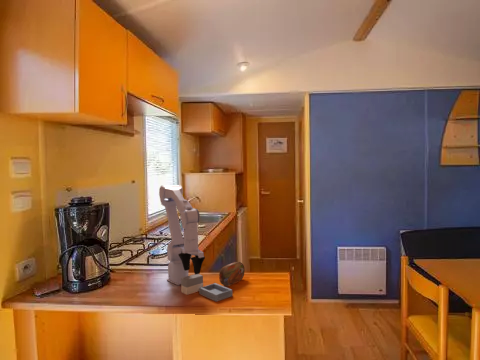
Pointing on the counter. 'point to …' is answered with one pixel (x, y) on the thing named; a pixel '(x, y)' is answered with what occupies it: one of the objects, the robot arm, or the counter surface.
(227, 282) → the tin
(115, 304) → the counter surface
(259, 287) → the counter surface
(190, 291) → the block
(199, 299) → the counter surface
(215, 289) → the grey rectangular tray
